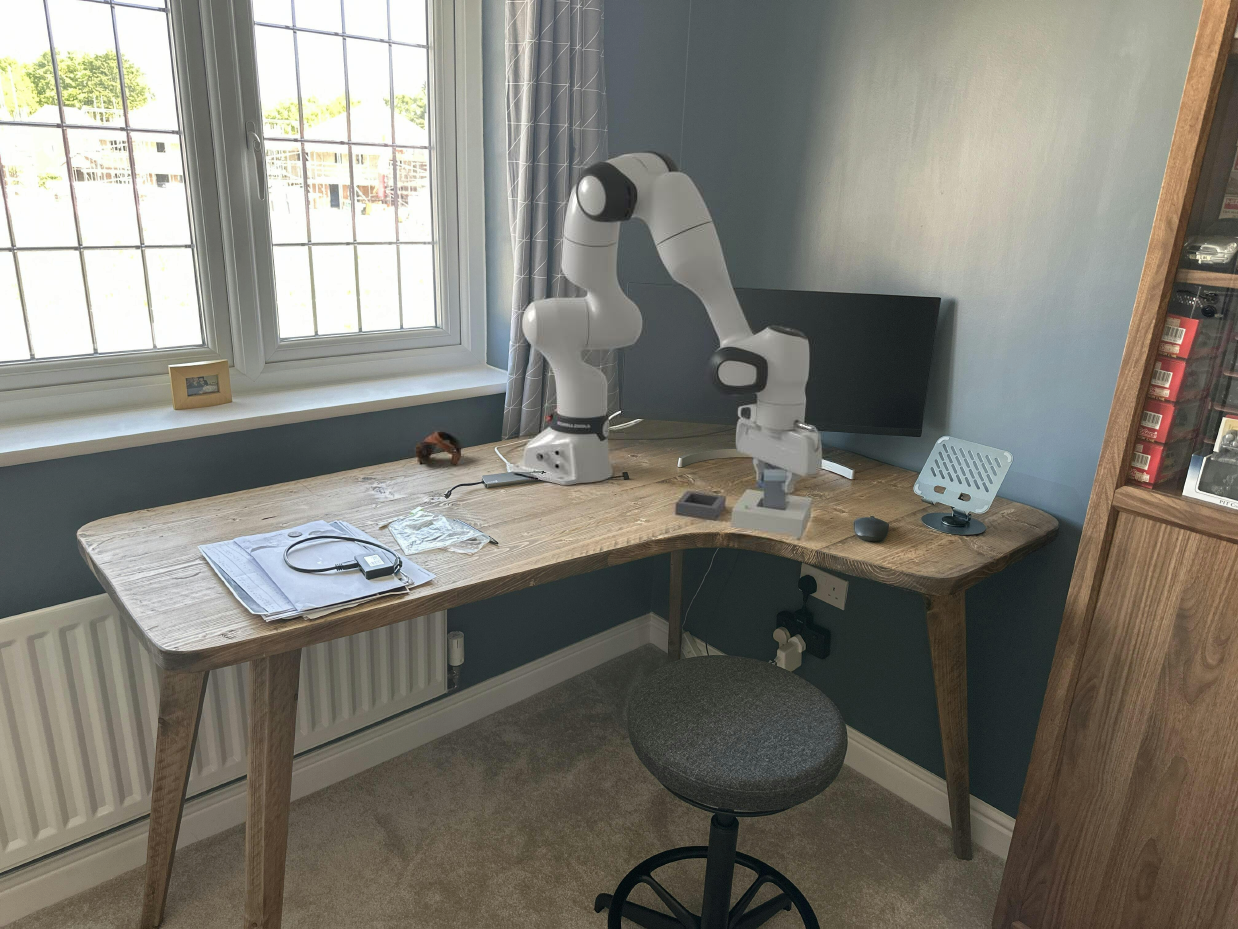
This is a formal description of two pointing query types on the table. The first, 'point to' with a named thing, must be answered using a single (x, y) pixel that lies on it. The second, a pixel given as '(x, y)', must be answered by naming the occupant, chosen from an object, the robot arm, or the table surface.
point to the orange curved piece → (427, 447)
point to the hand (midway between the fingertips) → (774, 486)
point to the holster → (700, 505)
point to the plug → (774, 489)
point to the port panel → (772, 515)
